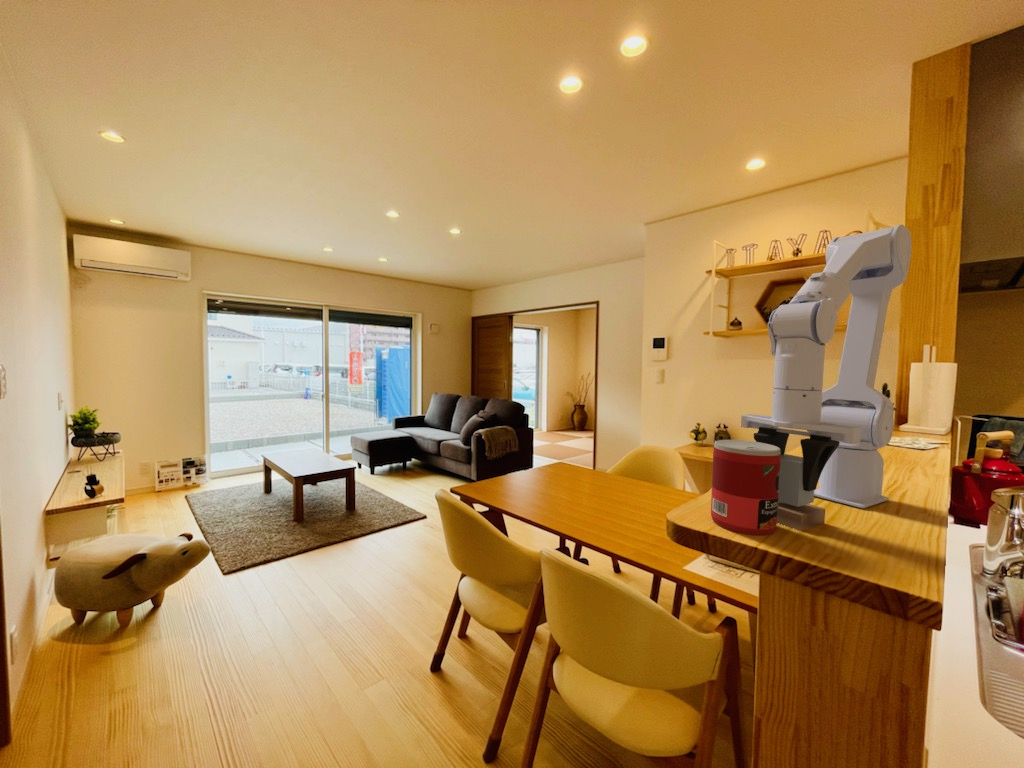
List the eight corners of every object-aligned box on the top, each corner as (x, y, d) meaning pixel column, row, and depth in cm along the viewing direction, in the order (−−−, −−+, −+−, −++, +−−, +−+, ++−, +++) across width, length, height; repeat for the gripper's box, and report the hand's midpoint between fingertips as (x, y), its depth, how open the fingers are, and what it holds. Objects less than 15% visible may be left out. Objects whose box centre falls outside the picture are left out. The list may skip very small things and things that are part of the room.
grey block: (783, 494, 63) (785, 454, 62) (813, 502, 59) (815, 459, 59) (767, 498, 61) (769, 456, 60) (798, 506, 57) (800, 462, 57)
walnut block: (779, 512, 64) (780, 496, 64) (824, 526, 59) (825, 508, 59) (755, 518, 61) (756, 501, 61) (800, 533, 56) (801, 515, 56)
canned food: (773, 541, 52) (778, 453, 52) (704, 525, 57) (707, 444, 57) (779, 523, 58) (784, 444, 58) (716, 510, 63) (720, 437, 63)
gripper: (730, 386, 63) (726, 476, 64) (844, 393, 51) (837, 505, 52) (757, 386, 67) (753, 470, 68) (870, 392, 54) (863, 497, 55)
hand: (791, 485), depth 60 cm, fingers closed on grey block, 4 cm apart
